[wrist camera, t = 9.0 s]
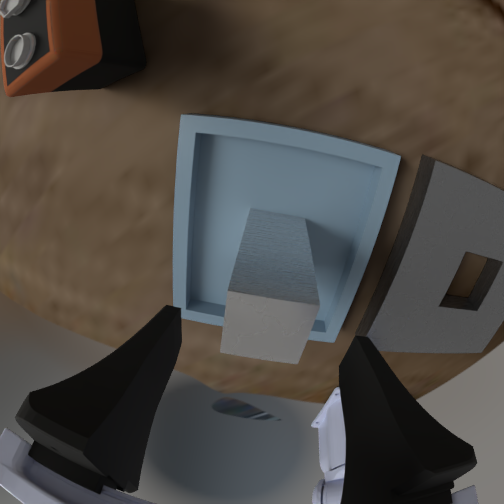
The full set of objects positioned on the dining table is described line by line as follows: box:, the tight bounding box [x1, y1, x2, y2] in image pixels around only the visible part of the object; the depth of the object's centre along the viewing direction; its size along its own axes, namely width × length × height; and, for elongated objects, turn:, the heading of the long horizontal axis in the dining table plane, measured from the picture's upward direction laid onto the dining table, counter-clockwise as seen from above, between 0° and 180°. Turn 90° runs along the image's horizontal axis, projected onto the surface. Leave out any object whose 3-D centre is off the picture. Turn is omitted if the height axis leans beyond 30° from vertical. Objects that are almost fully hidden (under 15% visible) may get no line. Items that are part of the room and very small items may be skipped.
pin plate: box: [355, 154, 504, 353], centre depth 19 cm, size 16×16×2 cm
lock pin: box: [220, 208, 320, 364], centre depth 16 cm, size 4×4×9 cm
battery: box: [0, 0, 146, 97], centre depth 10 cm, size 4×7×10 cm, turn 12°
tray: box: [173, 113, 401, 343], centre depth 19 cm, size 15×13×2 cm
